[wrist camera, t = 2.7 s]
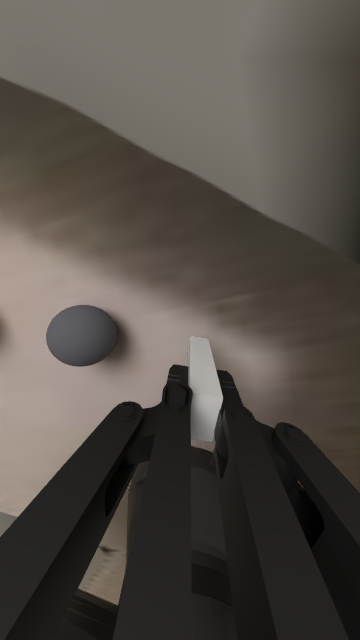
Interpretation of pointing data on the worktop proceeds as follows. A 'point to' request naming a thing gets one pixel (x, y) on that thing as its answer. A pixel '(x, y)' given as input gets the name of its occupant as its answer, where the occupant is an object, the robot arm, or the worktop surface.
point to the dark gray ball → (81, 335)
